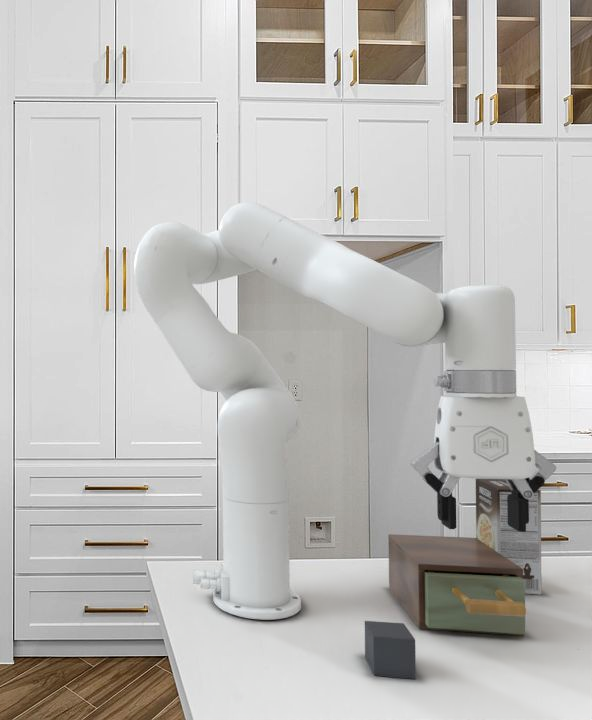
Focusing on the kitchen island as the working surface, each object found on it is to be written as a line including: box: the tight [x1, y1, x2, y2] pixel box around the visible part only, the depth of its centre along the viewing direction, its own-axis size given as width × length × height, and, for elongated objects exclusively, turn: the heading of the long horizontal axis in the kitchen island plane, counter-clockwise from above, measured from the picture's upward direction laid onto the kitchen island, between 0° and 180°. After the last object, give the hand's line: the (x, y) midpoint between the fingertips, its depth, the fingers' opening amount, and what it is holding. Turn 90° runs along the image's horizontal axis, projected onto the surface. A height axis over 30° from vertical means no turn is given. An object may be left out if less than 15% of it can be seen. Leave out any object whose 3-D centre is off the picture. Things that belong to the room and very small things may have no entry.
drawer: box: [425, 570, 527, 635], centre depth 80 cm, size 20×11×7 cm, turn 170°
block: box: [364, 620, 417, 680], centre depth 69 cm, size 4×4×4 cm
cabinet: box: [387, 533, 525, 637], centre depth 86 cm, size 15×13×9 cm
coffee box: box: [474, 478, 543, 596], centre depth 96 cm, size 9×6×16 cm
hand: (482, 526), depth 75 cm, fingers open, 7 cm apart
